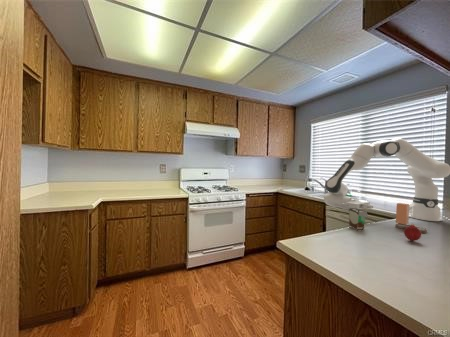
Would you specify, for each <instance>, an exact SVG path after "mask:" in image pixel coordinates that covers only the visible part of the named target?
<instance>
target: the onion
mask: <svg viewBox="0 0 450 337" xmlns="http://www.w3.org/2000/svg"><path fill="white" fill-rule="evenodd" d="M410 225H411V226H408V227H406V228H405V229H403V234H404V235H405V237H406V238H407V239H408V240H409V241H411V242H415V241H418V240H420V239H421V237H422V233H421V232H420V230H419V229H418V228H417V227H418V226H417V227H415V226H416V225H415V224H414V223H411V224H410Z"/></svg>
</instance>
